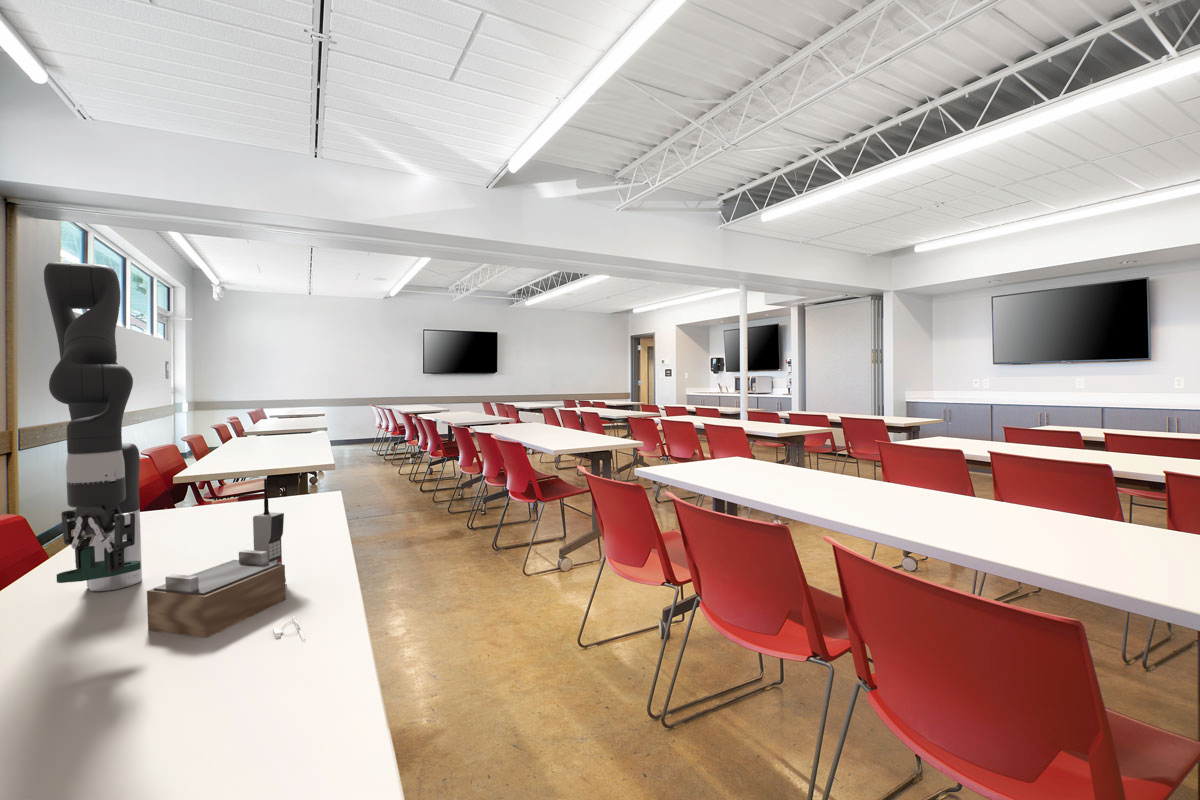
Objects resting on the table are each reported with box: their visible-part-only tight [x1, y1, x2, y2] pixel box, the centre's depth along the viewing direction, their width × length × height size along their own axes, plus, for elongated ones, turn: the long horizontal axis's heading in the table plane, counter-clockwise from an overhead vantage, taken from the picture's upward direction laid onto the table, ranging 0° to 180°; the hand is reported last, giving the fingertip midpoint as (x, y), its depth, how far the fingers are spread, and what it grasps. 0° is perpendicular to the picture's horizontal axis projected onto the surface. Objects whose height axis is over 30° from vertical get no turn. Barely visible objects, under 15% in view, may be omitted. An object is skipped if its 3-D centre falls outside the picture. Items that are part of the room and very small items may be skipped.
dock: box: [146, 549, 287, 638], centre depth 108 cm, size 14×18×10 cm
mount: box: [56, 543, 142, 584], centre depth 95 cm, size 11×4×5 cm, turn 126°
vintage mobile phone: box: [252, 478, 287, 584], centre depth 124 cm, size 4×5×25 cm
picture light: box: [272, 616, 307, 643], centre depth 100 cm, size 14×4×2 cm, turn 37°
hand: (100, 569), depth 95 cm, fingers closed on mount, 7 cm apart
